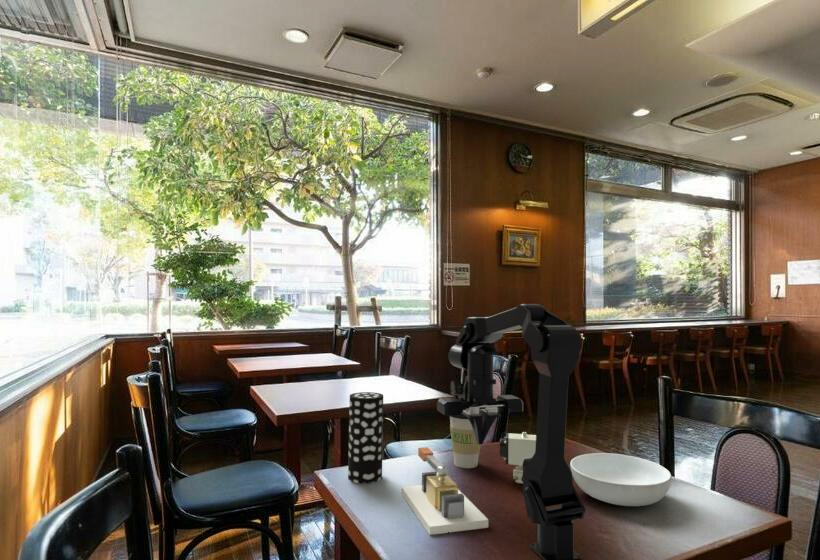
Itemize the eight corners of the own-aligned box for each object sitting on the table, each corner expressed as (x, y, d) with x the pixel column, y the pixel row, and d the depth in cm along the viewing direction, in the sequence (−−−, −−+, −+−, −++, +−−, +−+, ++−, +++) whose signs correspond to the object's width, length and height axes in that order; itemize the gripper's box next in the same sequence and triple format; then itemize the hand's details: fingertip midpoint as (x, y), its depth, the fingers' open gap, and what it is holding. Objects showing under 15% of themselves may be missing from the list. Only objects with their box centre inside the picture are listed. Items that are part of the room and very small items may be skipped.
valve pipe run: (467, 517, 96) (467, 494, 96) (444, 519, 94) (444, 497, 95) (439, 486, 111) (439, 467, 111) (419, 488, 110) (419, 469, 110)
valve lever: (448, 481, 102) (448, 467, 102) (438, 482, 102) (438, 468, 102) (427, 459, 116) (427, 447, 116) (418, 459, 115) (418, 447, 116)
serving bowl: (569, 476, 123) (569, 448, 124) (661, 487, 117) (661, 458, 117) (570, 510, 103) (570, 477, 104) (681, 525, 97) (681, 490, 97)
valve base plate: (488, 527, 95) (488, 519, 95) (429, 535, 91) (429, 526, 91) (451, 488, 114) (451, 482, 114) (401, 493, 111) (401, 486, 111)
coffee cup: (442, 459, 134) (442, 404, 135) (474, 457, 137) (475, 403, 138) (456, 472, 125) (456, 412, 126) (490, 468, 128) (491, 410, 128)
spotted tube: (341, 479, 119) (342, 396, 119) (360, 469, 126) (361, 391, 127) (370, 486, 115) (371, 400, 116) (388, 475, 122) (389, 394, 123)
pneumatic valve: (549, 487, 115) (550, 436, 116) (499, 483, 118) (499, 433, 118) (548, 479, 121) (548, 430, 121) (500, 475, 123) (500, 427, 124)
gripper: (501, 367, 120) (501, 431, 119) (429, 369, 115) (428, 436, 114) (524, 374, 109) (524, 445, 108) (446, 376, 104) (445, 451, 103)
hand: (479, 444), depth 109 cm, fingers closed
